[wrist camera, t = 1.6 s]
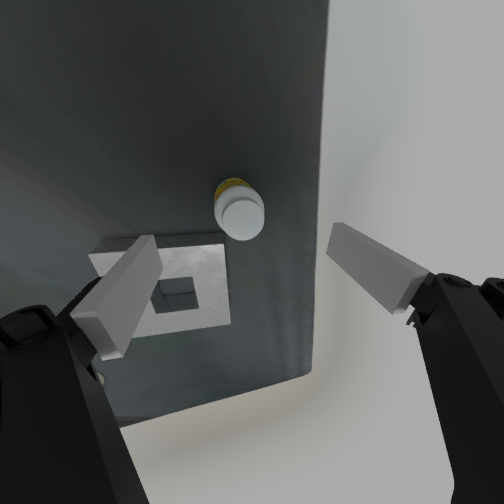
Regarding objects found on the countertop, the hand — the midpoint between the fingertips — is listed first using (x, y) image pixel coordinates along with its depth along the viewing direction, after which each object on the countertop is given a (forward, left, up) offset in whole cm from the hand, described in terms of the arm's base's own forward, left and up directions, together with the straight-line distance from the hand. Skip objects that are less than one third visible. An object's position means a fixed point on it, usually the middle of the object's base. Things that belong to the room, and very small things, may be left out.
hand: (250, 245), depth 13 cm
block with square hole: (+13, -10, -14) cm, 21 cm away
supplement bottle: (0, 0, -14) cm, 14 cm away
